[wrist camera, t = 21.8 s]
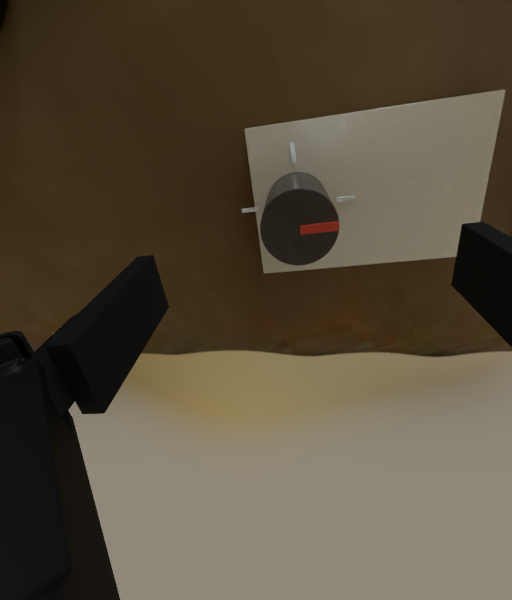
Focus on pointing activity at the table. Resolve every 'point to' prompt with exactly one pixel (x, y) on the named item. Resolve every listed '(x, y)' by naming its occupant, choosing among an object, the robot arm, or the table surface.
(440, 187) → the dial control panel
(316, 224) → the knob
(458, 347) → the table surface
